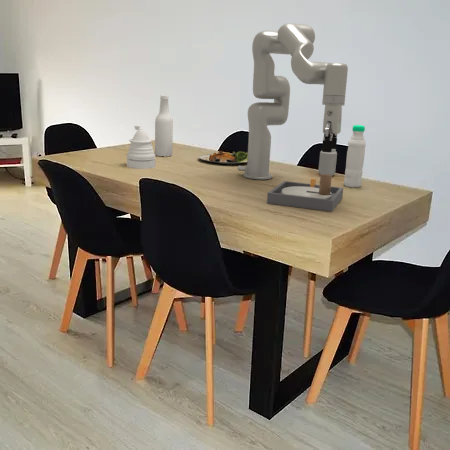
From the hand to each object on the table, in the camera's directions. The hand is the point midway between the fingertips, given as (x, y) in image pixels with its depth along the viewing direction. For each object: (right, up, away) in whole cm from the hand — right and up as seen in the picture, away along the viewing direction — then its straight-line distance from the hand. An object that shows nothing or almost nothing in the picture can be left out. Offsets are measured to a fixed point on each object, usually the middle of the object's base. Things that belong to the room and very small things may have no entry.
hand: (329, 150), depth 194 cm
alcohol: (-68, +9, +87) cm, 111 cm away
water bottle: (+16, -10, +36) cm, 40 cm away
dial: (-7, -16, +7) cm, 19 cm away
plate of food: (-36, +5, +80) cm, 88 cm away
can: (+9, -4, +56) cm, 57 cm away
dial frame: (-7, -17, +8) cm, 20 cm away
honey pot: (-75, 0, +58) cm, 94 cm away
